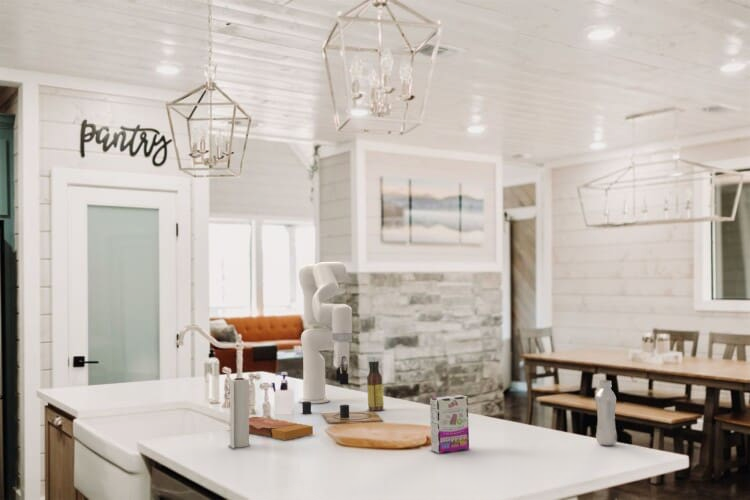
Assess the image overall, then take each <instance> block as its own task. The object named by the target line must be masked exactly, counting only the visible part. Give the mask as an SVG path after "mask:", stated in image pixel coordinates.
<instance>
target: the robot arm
mask: <svg viewBox="0 0 750 500" xmlns="http://www.w3.org/2000/svg"><path fill="white" fill-rule="evenodd" d="M347 278H348V269H347V266H346V264H345V263H344V262H342V261H321V262H320V261H319V262H318V263H316V264H315V263H312V264H310V263H309V264H305V265H302V266H301V267H300V268H299V272H298V279H299V284H300V287H301V290H302V294H303V319H304V320H303V321H304V323H305V324H306V325H308V326H312V327H313V326H317V327H318V326H328V328H309V329H305V330H303V332H301V335H300V343H301V348H302V361H303V362H302V364H303V365H302V367H303V368H302V369H303V372H302V373H303V376H302V377H303V378H302V379H303V380H302V381H303V382H302V383H303V397H301V398H300V399H299V403H301V404H302V402H305V401H310V402H311V405H313V404H314V405H315V404H317V405H318V404H324V403H328V402H329V401H330V398H329V397H326V360H325V358H324V356H323V355H322V353H320V352H321V351H333V367H335V369H336V371H335V381H337V382H338V381H339V385H341V386H343V385H349V369H348V368H349V367H350V343H352V342H353V339H352V338H353V309H352V307H351V306H350V305H348V304H346V303H324V302H326V301H328V300H330V299H332V298H334V297H335V296H336V295H337V294H338V293H339V290H340V287H339V284H340V283H344V282H346V280H347Z"/></svg>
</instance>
